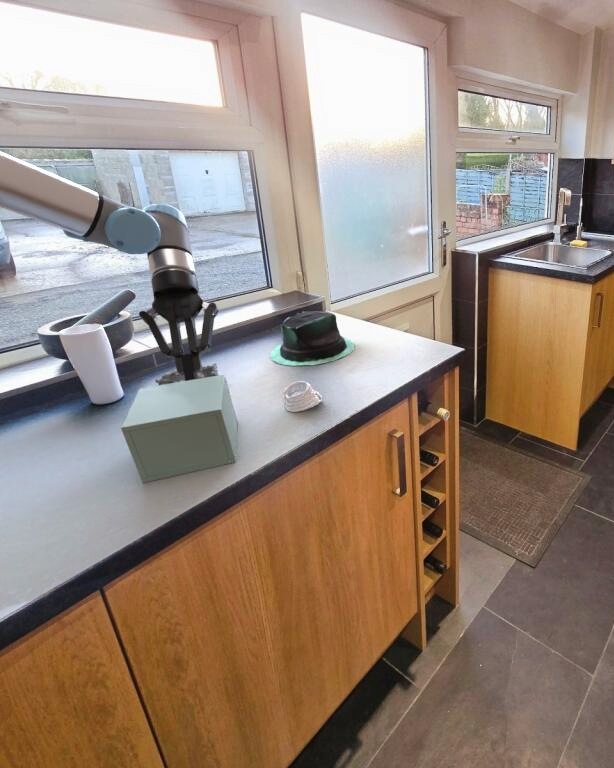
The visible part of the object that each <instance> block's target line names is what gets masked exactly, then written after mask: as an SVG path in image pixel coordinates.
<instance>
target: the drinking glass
mask: <svg viewBox="0 0 614 768" xmlns="http://www.w3.org/2000/svg"><path fill="white" fill-rule="evenodd" d="M58 336H59V340H60V343H61V345H62V347H63V350H64V352H65V354H66V356H67V358H68V359H69V362H70V363H71V365H72V367H73V369H74V371H75V372H76V374H77V376H78V378H79V380H80V382H81V383H82V386H83V387H84V389H85V391H86V393H87V395H88V398H89V400H90V402H91V403H92V404H94V405H107V404H112V403H114V402H117V401H119V400H120V399H122V398H123V397H124V393H125V392H124V390H123V387H122V383H121V380H120V376H119V373H118V369H117V365H116V362H115V358H114V354H113V350H112V346H111V343H110V340H109V338H108V335H107V332H106V331H105V328H104V325H102V324H100V323H85V324H78V325H73V326H69V327H66V328H64V329H61V330H60V331H58Z"/></svg>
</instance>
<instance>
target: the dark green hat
mask: <svg viewBox="0 0 614 768" xmlns="http://www.w3.org/2000/svg"><path fill="white" fill-rule="evenodd" d="M280 328H281V334H282V338H281V340H282V343H280V344H279V345H277V346H276V347H275V348H273V350H272V351H271V352H270V355H269V358H270V360H271V361H272V362H274V363H277V364H279V365H284V366H293V367H295V366H315V365H322V364H325V363H331V362H333V361H336V360H338V359H341V358H344V357H347V356H348V355H349V354H351V353H352V352H353V351H354V350H355V349H356V348H355V347H356V344H355V342H354V341H353V340H351V339H348V338H346V337H344V336H342V335H341V333H340V330H339V327H338V323H337V316H336V314H334V313H332V312H328V311H319V310H313V311H312V310H310V311H302V312H297V313H296V314H294V315H293V316H288V317H287V318H286V319H284V321H283V322H282V323H281V327H280Z"/></svg>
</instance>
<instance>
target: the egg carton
mask: <svg viewBox="0 0 614 768" xmlns="http://www.w3.org/2000/svg"><path fill="white" fill-rule="evenodd" d="M213 376H219V371H218V365H217V363H216V362H215V363H213V364H211V365H209V364H208V365H207V366H203V365H202V372H199V373H197V379H201V378H207V377H213ZM182 381H185V376H184V375H180V374H179V373H178V371H177V368H174V369H170V370H168V371H167V372H165V373H164V374H163V375H161V378H159V379H155V383H156V384H157V386H158V385H164V384H170V383H176V382H182Z"/></svg>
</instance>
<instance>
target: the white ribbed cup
mask: <svg viewBox="0 0 614 768" xmlns="http://www.w3.org/2000/svg"><path fill="white" fill-rule="evenodd" d="M311 385H312V384H310V383H308V382H307V381H305V380H299V381H295V382H292V383H290V384H289V385H288V386H287V387H285V388H284V389H283V390H282V394H281V398H282V402H283V407H284V409H285V410H287V411H288V412H292V413H298V412H303V411H306V410H309V409H312V408H314V407H316V406H317V405H319V404H320V403H322V401H323V399H324V398H323V396H322V394H320V393H319V391H316V390H315V389H313V387H312V386H311ZM296 392H300V393H298V394H295V393H296Z"/></svg>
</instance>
